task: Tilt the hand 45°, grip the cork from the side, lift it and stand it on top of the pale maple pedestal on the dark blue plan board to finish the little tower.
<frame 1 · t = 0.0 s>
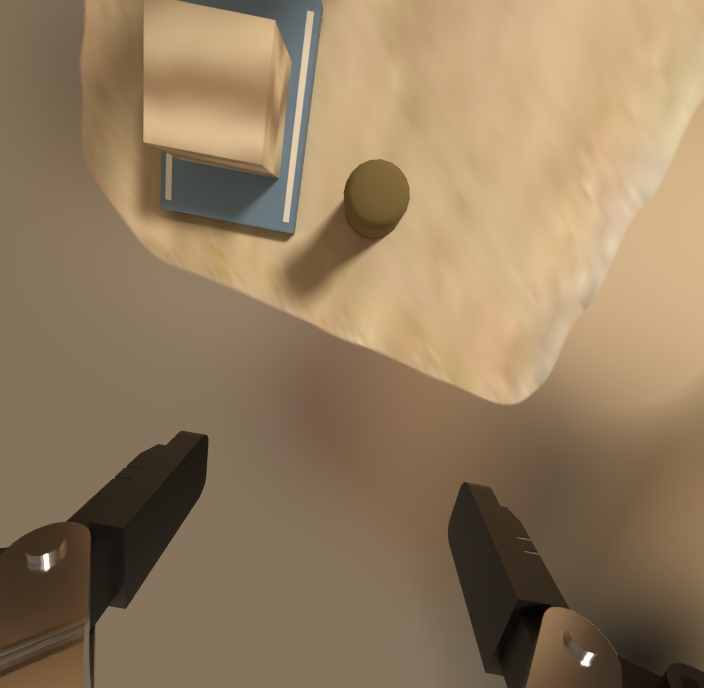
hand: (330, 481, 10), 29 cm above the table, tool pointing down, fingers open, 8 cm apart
maple pedestal: (221, 100, 29), on the plan board, point 4 cm above the table
cork: (373, 209, 36), on the table
plan board: (238, 117, 33), on the table
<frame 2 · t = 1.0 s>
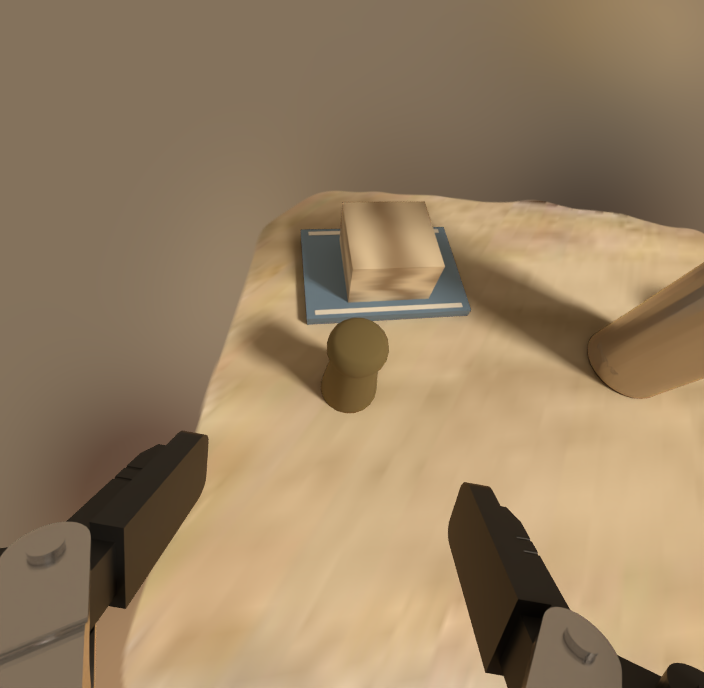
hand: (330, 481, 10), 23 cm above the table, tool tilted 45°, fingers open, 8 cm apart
maple pedestal: (386, 251, 40), on the plan board, point 4 cm above the table
cork: (348, 386, 36), on the table
plan board: (380, 274, 44), on the table
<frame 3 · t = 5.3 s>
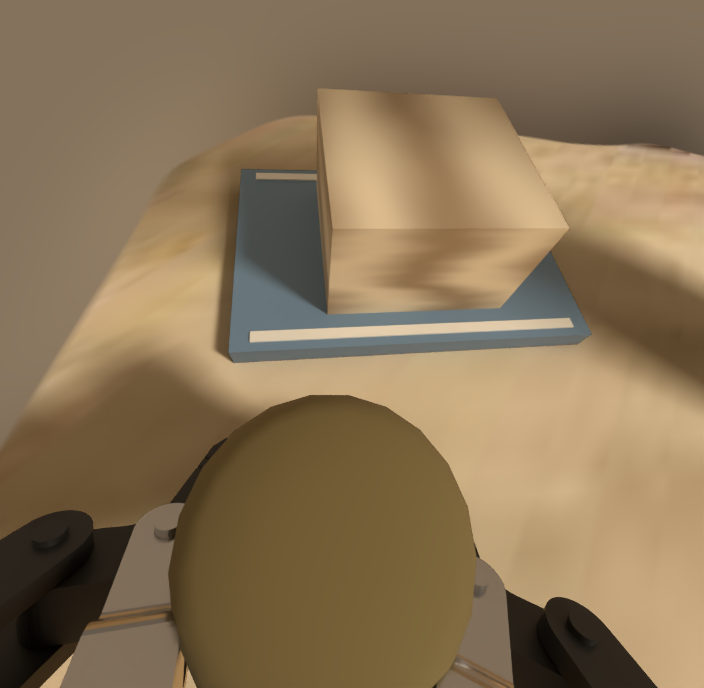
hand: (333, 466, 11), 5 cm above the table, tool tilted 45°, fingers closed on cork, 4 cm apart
maple pedestal: (413, 204, 18), on the plan board, point 4 cm above the table
cork: (320, 527, 14), on the table, touching gripper
plan board: (397, 257, 22), on the table
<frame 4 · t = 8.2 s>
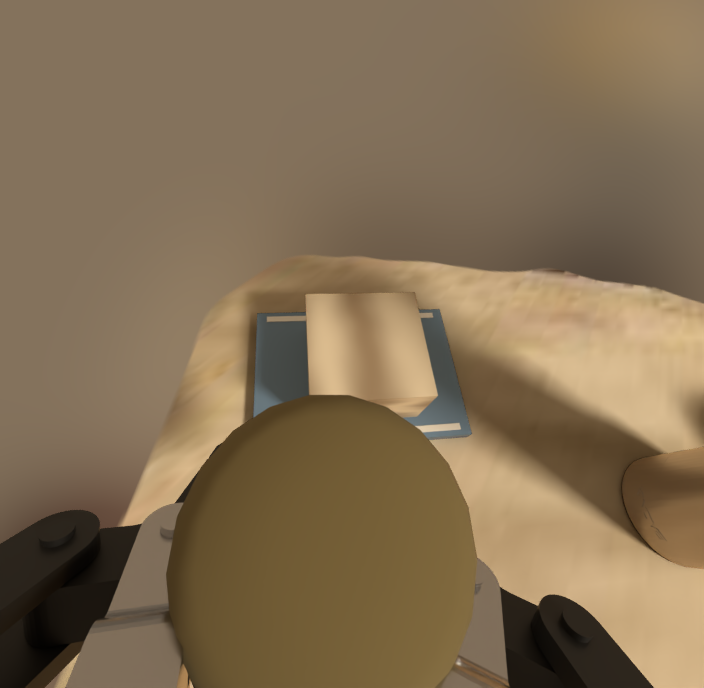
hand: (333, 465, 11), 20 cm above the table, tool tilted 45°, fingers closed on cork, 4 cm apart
maple pedestal: (363, 357, 30), on the plan board, point 4 cm above the table
cork: (319, 526, 14), point 15 cm above the table, touching gripper
plan board: (357, 375, 34), on the table
when the fingers open (13 cm above the table, at t = 11.0 s): cork drops 1 cm, resting on maple pedestal.
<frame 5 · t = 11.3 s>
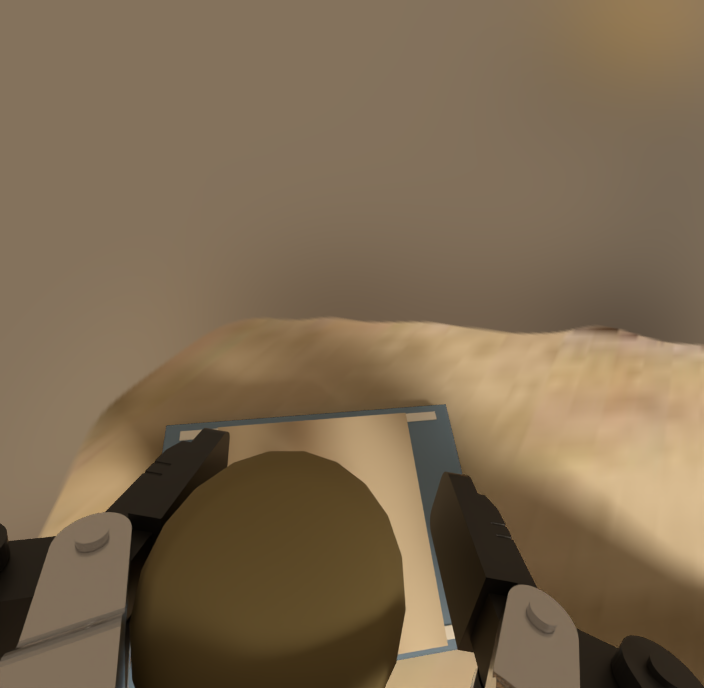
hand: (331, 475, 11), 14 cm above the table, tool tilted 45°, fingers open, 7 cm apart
maple pedestal: (320, 524, 18), on the plan board, point 4 cm above the table
cork: (297, 544, 15), point 7 cm above the table, touching gripper, maple pedestal
plan board: (319, 523, 22), on the table
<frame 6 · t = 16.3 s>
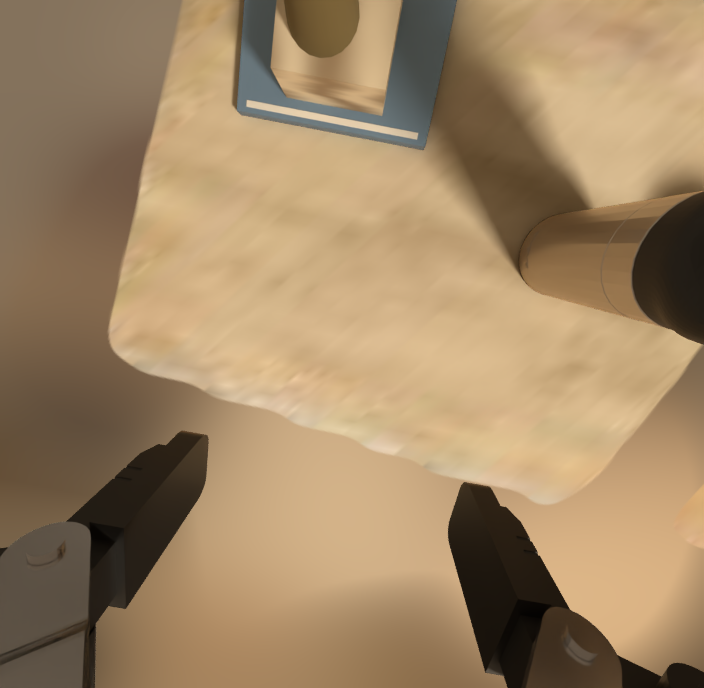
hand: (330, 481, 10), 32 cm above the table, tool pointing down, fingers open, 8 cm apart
maple pedestal: (340, 29, 30), on the plan board, point 4 cm above the table
cork: (323, 15, 27), point 7 cm above the table, touching maple pedestal
plan board: (343, 55, 34), on the table
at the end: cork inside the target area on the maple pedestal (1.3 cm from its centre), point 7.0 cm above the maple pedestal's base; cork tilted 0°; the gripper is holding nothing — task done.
